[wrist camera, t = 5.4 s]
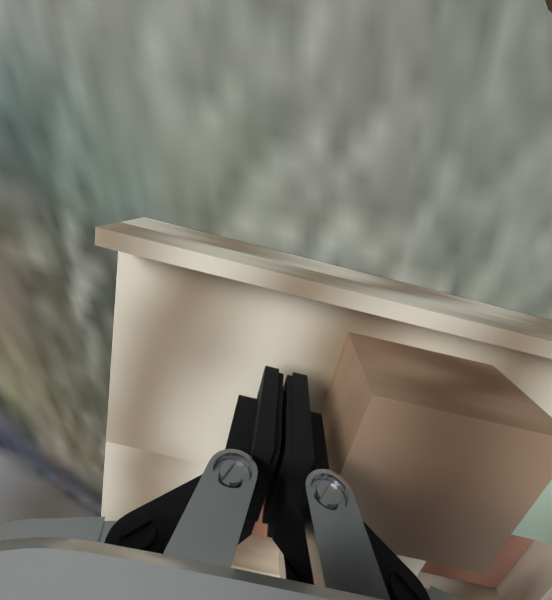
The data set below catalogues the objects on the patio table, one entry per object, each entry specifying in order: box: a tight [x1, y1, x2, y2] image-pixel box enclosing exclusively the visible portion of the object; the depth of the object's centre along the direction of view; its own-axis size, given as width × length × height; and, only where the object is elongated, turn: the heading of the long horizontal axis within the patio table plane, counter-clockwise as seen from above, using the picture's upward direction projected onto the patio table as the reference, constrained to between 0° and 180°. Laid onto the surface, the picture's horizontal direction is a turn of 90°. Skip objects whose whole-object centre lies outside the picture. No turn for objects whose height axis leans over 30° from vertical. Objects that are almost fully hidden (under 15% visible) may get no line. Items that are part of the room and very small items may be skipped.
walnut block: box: [320, 332, 552, 573], centre depth 11 cm, size 6×6×4 cm
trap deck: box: [95, 217, 552, 600], centre depth 15 cm, size 30×19×4 cm, turn 76°
